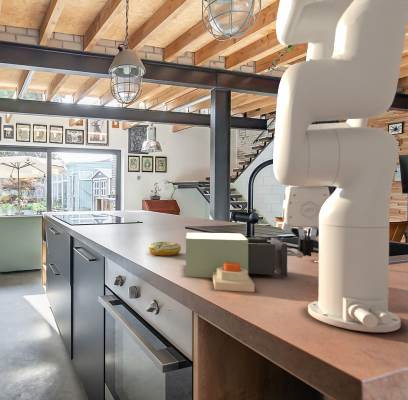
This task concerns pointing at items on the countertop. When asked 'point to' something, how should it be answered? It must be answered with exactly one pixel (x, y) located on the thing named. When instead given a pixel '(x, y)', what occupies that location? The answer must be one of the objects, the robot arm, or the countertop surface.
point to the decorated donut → (164, 248)
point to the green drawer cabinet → (214, 252)
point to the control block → (232, 280)
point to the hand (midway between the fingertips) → (305, 254)
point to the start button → (232, 266)
